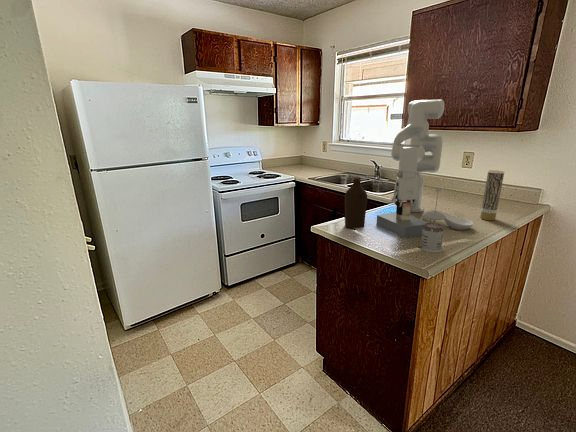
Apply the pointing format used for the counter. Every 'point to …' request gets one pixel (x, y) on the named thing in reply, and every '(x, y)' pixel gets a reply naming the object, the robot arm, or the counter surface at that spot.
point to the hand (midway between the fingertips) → (403, 213)
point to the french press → (431, 238)
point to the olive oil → (355, 205)
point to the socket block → (401, 225)
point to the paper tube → (492, 194)
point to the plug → (404, 211)
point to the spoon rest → (454, 221)
